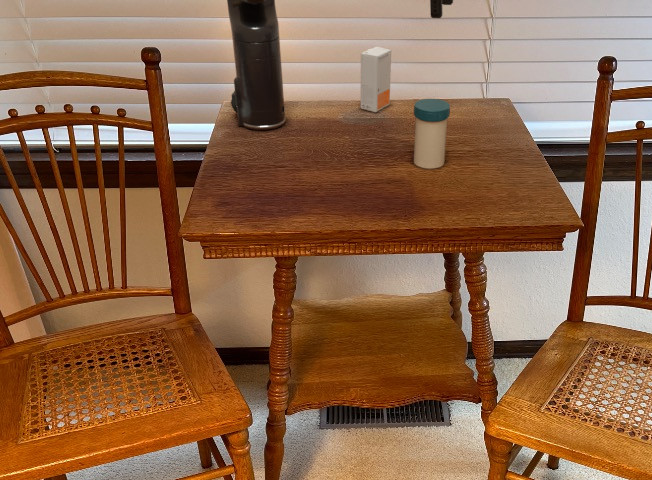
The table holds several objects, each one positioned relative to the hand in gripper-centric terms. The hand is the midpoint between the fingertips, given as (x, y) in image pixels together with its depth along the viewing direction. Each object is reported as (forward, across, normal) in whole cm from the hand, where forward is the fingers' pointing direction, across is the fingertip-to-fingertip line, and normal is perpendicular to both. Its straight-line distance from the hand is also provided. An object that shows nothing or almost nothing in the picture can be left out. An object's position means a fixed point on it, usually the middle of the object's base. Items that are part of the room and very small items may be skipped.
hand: (442, 10), depth 149 cm
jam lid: (+10, +23, +4) cm, 25 cm away
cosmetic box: (+21, -1, -16) cm, 26 cm away
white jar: (+21, +23, +3) cm, 31 cm away
